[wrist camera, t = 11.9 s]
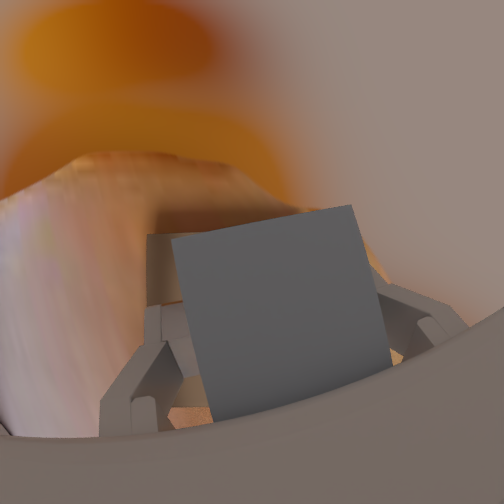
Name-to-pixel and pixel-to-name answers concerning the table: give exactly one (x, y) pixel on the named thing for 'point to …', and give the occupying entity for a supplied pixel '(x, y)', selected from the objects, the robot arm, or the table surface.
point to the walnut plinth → (168, 290)
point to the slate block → (280, 310)
